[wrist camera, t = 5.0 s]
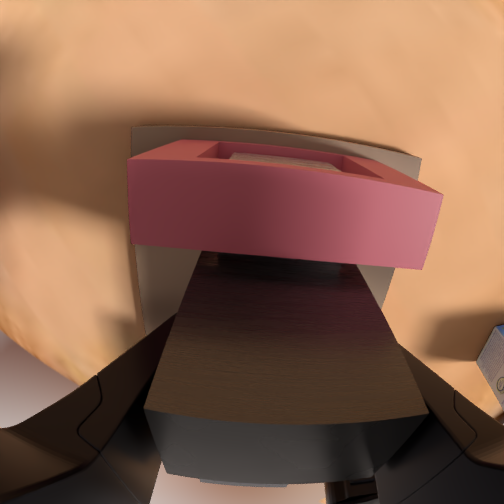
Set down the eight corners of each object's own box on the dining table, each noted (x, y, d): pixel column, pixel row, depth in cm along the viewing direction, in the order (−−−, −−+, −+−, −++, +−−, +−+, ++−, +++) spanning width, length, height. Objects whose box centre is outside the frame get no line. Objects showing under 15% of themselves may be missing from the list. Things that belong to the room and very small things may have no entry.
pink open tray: (366, 210, 14) (422, 269, 9) (179, 191, 14) (131, 244, 8) (375, 160, 13) (443, 194, 7) (181, 139, 13) (126, 159, 7)
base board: (325, 420, 23) (327, 428, 22) (165, 408, 23) (163, 417, 22) (412, 155, 14) (421, 158, 13) (139, 125, 13) (131, 126, 12)
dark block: (291, 388, 18) (300, 533, 9) (213, 383, 18) (192, 528, 9) (340, 164, 12) (499, 295, 3) (221, 151, 12) (111, 267, 3)
